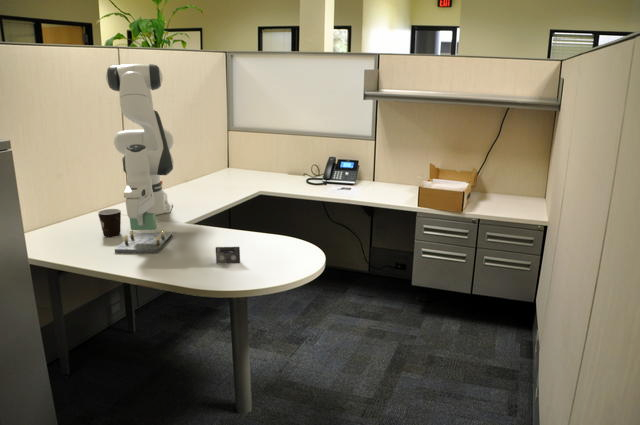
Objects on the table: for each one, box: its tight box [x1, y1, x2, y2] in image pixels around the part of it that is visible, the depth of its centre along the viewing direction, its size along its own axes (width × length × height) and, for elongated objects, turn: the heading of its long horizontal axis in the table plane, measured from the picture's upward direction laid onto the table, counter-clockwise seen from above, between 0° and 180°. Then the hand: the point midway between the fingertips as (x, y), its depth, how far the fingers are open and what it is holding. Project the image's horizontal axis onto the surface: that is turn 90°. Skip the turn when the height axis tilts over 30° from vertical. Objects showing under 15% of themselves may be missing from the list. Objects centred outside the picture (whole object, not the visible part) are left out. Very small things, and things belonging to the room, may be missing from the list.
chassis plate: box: [114, 229, 174, 254], centre depth 206 cm, size 20×16×4 cm
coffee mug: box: [97, 208, 122, 238], centre depth 216 cm, size 12×9×10 cm
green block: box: [129, 213, 157, 231], centre depth 204 cm, size 3×9×6 cm, turn 89°
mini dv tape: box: [215, 246, 241, 265], centre depth 187 cm, size 8×2×6 cm, turn 92°
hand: (143, 223), depth 205 cm, fingers closed on green block, 3 cm apart
